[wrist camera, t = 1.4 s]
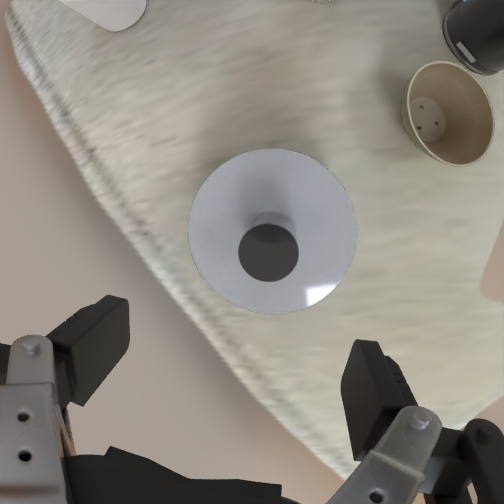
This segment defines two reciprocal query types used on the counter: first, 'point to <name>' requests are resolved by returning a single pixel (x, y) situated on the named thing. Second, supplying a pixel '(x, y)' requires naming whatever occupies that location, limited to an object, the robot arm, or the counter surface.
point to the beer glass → (322, 1)
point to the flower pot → (448, 114)
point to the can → (109, 12)
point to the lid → (272, 231)
